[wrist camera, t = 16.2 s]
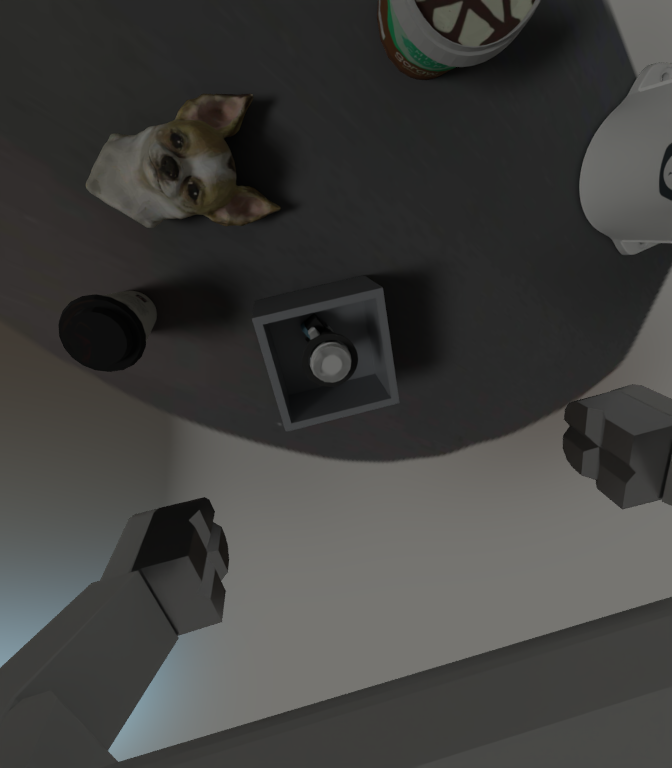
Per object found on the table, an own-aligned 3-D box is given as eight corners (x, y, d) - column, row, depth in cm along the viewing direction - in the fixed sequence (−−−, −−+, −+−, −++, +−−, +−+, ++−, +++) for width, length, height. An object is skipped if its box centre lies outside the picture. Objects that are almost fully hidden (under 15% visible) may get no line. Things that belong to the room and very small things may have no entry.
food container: (353, 83, 36) (380, 40, 27) (361, -3, 34) (394, -80, 25) (473, 104, 39) (535, 71, 30) (489, 25, 36) (562, -37, 27)
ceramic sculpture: (39, 101, 27) (251, 62, 28) (85, 127, 34) (249, 94, 36) (110, 258, 31) (288, 216, 33) (136, 249, 39) (280, 216, 41)
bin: (364, 275, 44) (382, 287, 36) (380, 374, 49) (399, 402, 42) (254, 300, 43) (251, 318, 36) (283, 399, 48) (285, 431, 41)
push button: (358, 343, 46) (380, 375, 37) (324, 372, 47) (337, 410, 38) (321, 301, 43) (335, 324, 34) (286, 333, 44) (290, 364, 35)
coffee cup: (150, 270, 40) (116, 287, 31) (179, 332, 43) (155, 364, 34) (85, 290, 40) (31, 312, 31) (118, 351, 43) (78, 387, 34)
